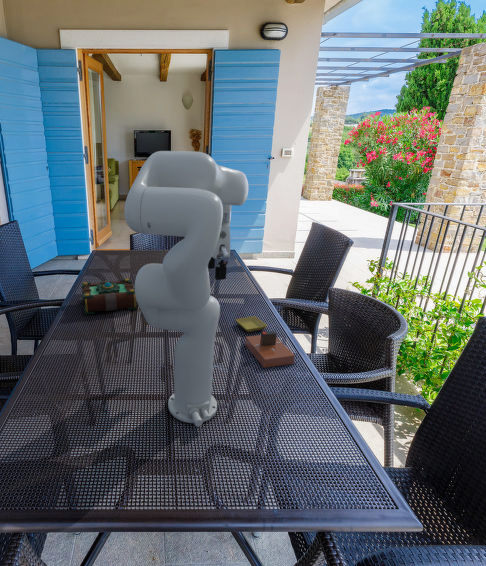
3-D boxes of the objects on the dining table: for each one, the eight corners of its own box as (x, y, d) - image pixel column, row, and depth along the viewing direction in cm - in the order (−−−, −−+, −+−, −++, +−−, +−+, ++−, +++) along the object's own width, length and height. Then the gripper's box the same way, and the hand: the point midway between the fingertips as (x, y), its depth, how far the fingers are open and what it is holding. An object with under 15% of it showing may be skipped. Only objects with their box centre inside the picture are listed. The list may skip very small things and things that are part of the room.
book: (141, 290, 171) (141, 269, 167) (152, 309, 152) (151, 286, 148) (82, 296, 164) (80, 274, 161) (84, 317, 145) (82, 293, 142)
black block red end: (273, 341, 122) (274, 330, 121) (275, 344, 121) (276, 332, 119) (260, 343, 121) (261, 331, 120) (262, 346, 120) (263, 334, 118)
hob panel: (293, 363, 116) (295, 354, 115) (263, 367, 114) (264, 359, 113) (272, 341, 128) (273, 333, 127) (244, 344, 126) (245, 336, 125)
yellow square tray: (234, 323, 140) (234, 318, 140) (254, 320, 143) (255, 315, 142) (246, 334, 133) (246, 329, 132) (267, 330, 135) (267, 325, 135)
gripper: (241, 223, 101) (237, 282, 107) (219, 211, 117) (216, 264, 123) (215, 224, 99) (212, 285, 106) (196, 212, 115) (194, 265, 121)
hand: (214, 273), depth 114 cm, fingers open, 9 cm apart
